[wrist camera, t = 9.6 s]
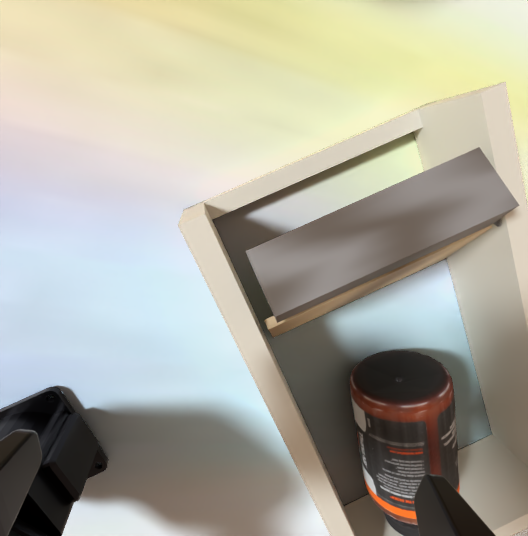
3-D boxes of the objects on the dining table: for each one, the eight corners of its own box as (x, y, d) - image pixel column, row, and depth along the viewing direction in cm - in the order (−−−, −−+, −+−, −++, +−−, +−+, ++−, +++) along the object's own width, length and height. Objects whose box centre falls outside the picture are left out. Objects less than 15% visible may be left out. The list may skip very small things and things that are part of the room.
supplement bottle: (327, 379, 23) (350, 517, 26) (419, 420, 18) (433, 581, 22) (383, 337, 26) (397, 464, 30) (472, 363, 22) (478, 509, 25)
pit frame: (334, 523, 29) (366, 608, 23) (183, 209, 21) (177, 225, 15) (508, 438, 29) (579, 501, 24) (426, 103, 22) (505, 81, 16)
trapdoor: (253, 294, 24) (273, 337, 23) (234, 255, 16) (264, 323, 15) (418, 219, 25) (442, 260, 24) (489, 142, 16) (530, 201, 15)
